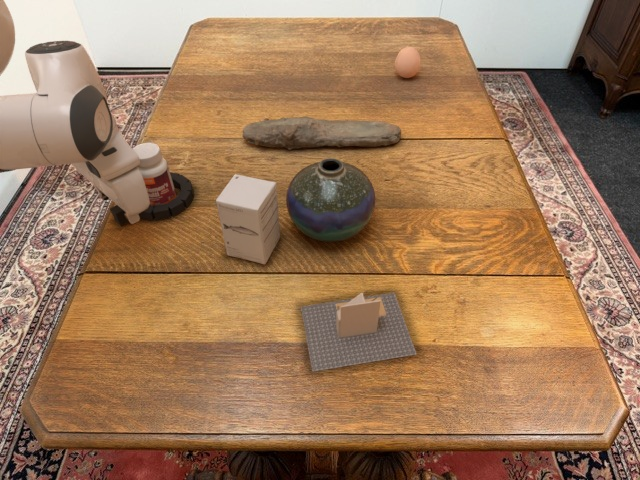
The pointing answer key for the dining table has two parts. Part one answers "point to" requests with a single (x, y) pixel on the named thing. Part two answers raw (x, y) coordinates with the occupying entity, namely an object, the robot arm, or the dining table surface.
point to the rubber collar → (163, 209)
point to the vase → (330, 200)
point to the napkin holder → (356, 331)
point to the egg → (407, 62)
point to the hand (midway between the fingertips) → (120, 208)
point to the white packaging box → (249, 218)
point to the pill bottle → (155, 174)
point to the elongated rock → (320, 133)
